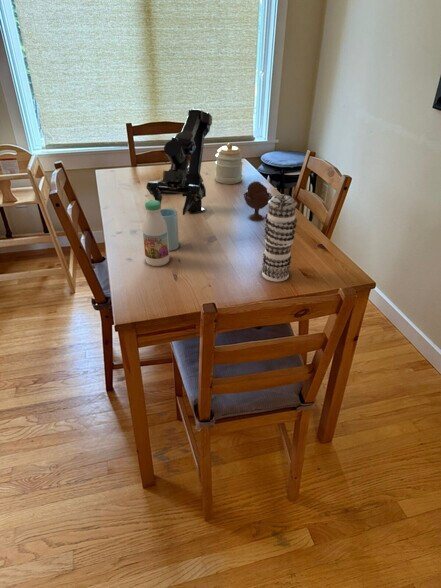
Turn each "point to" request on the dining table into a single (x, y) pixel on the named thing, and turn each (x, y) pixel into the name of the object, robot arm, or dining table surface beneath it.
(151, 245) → the milk bottle
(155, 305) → the dining table surface
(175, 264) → the dining table surface
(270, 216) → the decorative candle
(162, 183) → the salad plate
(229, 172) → the jar
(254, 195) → the ice cream bowl
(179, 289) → the dining table surface
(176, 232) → the tumbler
